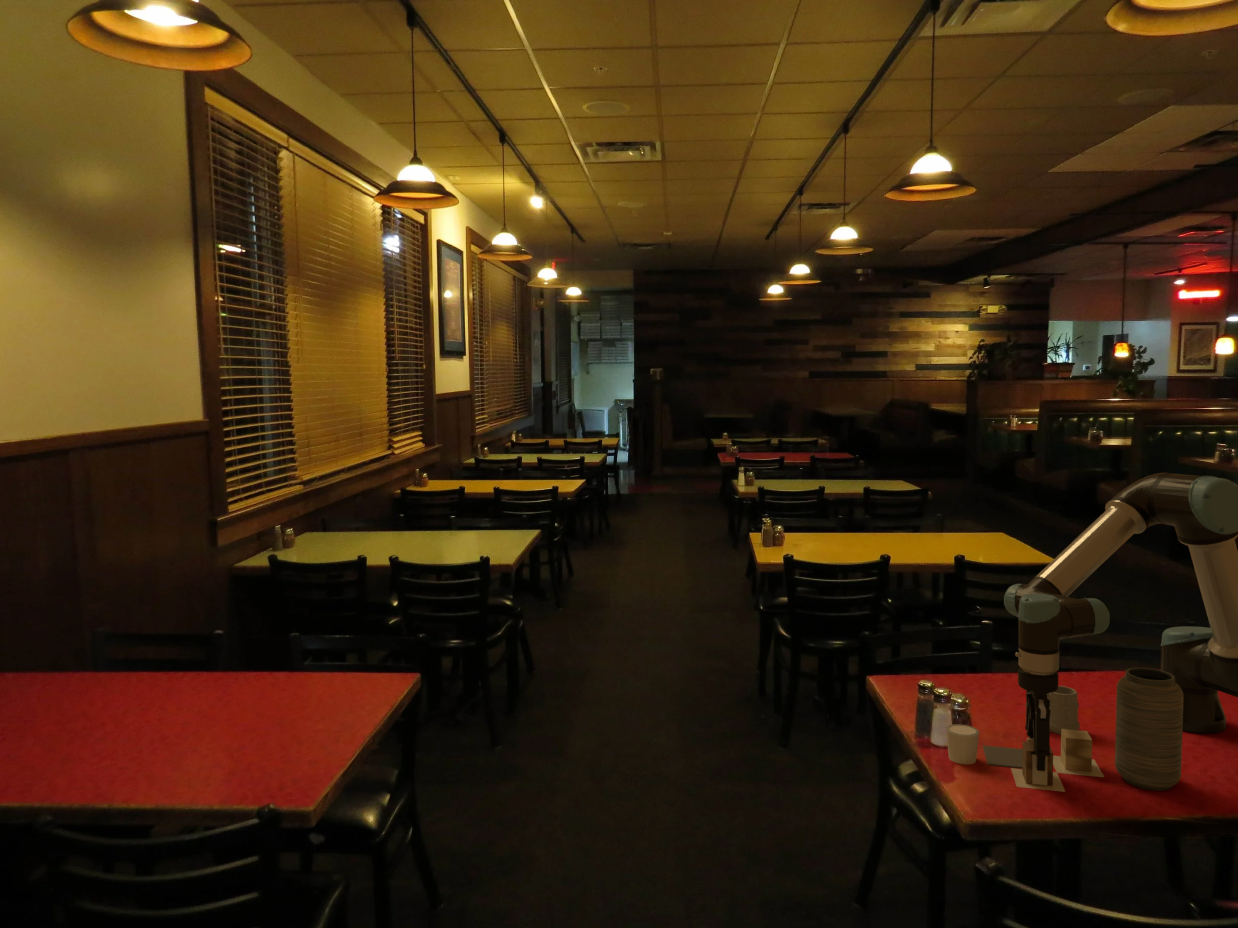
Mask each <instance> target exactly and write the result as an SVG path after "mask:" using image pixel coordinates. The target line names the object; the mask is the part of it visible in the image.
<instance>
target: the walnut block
mask: <svg viewBox="0 0 1238 928" xmlns="http://www.w3.org/2000/svg"><path fill="white" fill-rule="evenodd" d="M1022 749H1023V755H1022V768H1021V769H1022V774H1023V776H1024V779H1025V782H1026V783H1027V784H1033V783H1032V757H1033V755H1032V754H1030V751H1034V742H1027V740H1026V741H1025V740H1023V741H1022ZM1053 756H1054V752H1053V749H1052V747H1051V746H1050V756H1049V757H1048V768H1047V786H1053V772H1054V765H1053ZM1037 785H1039V784H1037Z"/></svg>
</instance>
